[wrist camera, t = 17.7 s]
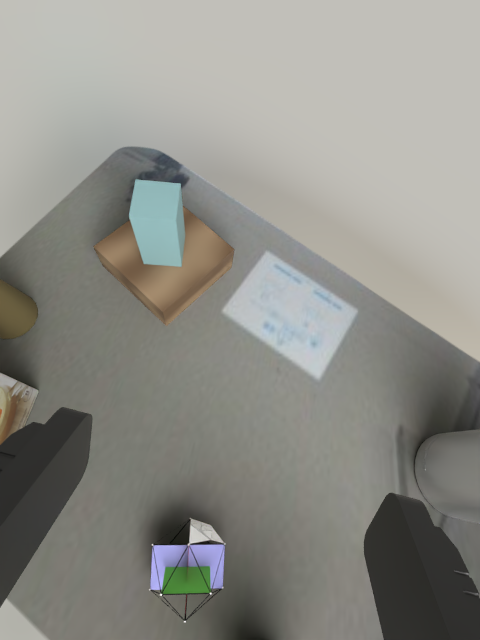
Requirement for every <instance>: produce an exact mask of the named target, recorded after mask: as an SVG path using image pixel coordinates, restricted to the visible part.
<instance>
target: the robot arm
mask: <svg viewBox="0 0 480 640" xmlns="http://www.w3.org/2000/svg"><path fill="white" fill-rule="evenodd" d="M91 429H92V415H91V414H88V413H84V412H80V411H76V410H72V409H68V408H64V407H62V408H60V409H59V410H58V411H57V412H56V413H55V414H54V415H53V416H52V417H51V418H50V419H49V420H48V421H47V422H46V424H45V425H44V424H40V423H36V422H33V423H31V424H29V425H27V426H25V427H23V428H21V429H19V430H18V431H16V432H14V433H12V434H11V435H10V436H9V437H8V438H7V439H6V440H5V441H4V442H3V443H2V444H1V445H0V607H1V605H2V604H3V602H4V601H5V599H6V598H7V596H8V594H9V593H10V591H11V590H12V588H13V587H14V585H15V583H16V582H17V580H18V579H19V577H20V575H21V574H22V572H23V571H24V569H25V568H26V566H27V564H28V563H29V561H30V560H31V558H32V557H33V555H34V553H35V552H36V550H37V549H38V547H39V545H40V544H41V542H42V541H43V539H44V538H45V536H46V534H47V533H48V531H49V530H50V528H51V526H52V525H53V523H54V522H55V520H56V519H57V517H58V515H59V514H60V512H61V511H62V509H63V507H64V506H65V504H66V503H67V501H68V500H69V498H70V496H71V495H72V493H73V492H74V490H75V489H76V487H77V485H78V484H79V482H80V480H81V478H82V476H83V474H84V472H85V469H86V466H87V463H88V459H89V450H90V440H91ZM415 475H416V479H417V483H418V486H419V488H420V490H421V492H422V494H423V495H424V497H425V498H426V500H427V501H428V502H429V503H430V504H431V505H432V506H433V507H434V508H435V509H436V510H438V511H439V512H441V513H442V514H444V515H446V516H449V517H451V518H455V519H460V520H464V521H468V522H473V523H477V524H480V429H477V430H468V431H458V432H449V433H439V434H436V435H433V436H431V437H429V438H428V439H426V440H425V441H424V442H423V443H422V444H421V446H420V448H419V450H418V451H417V455H416V458H415ZM364 555H365V560H366V564H367V569H368V573H369V577H370V582H371V586H372V590H373V594H374V599H375V603H376V607H377V612H378V616H379V620H380V625H381V629H382V633H383V637H384V640H480V598H479V593H478V590H477V588H476V586H475V584H474V582H473V580H472V578H469V572H468V570H467V568H466V566H465V564H464V561H463V559H462V557H461V555H460V553H459V551H458V549H457V548H456V547H455V546H454V544H453V543H452V542H451V541H450V539H449V538H448V537H447V535H446V534H445V533H444V532H443V530H442V529H441V528H440V527H436V526H434V524H433V522H432V520H431V518H430V515H429V513H428V511H427V509H426V507H425V505H424V504H423V502H422V501H420V500H417V499H413V498H410V497H406V496H402V495H398V494H394V493H389V494H388V495H387V496H386V497H385V499H384V501H383V502H382V504H381V506H380V508H379V509H378V511H377V513H376V515H375V516H374V518H373V520H372V522H371V524H370V525H369V527H368V529H367V531H366V534H365V539H364Z"/></svg>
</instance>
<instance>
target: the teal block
mask: <svg viewBox="0 0 480 640" xmlns="http://www.w3.org/2000/svg"><path fill="white" fill-rule="evenodd" d="M129 218H130V222H131V225H132V228H133V231H134V234H135V237H136V241H137V244H138V247H139V250H140V253H141V257H142V260H143V263H144V264H151V265H164V266H177V267H182V260H183V251H184V242H185V227H184V216H183V205H182V194H181V184H179V183H168V182H157V181H147V180H135V186H134V191H133V196H132V202H131V207H130V212H129Z"/></svg>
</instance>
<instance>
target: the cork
mask: <svg viewBox="0 0 480 640" xmlns="http://www.w3.org/2000/svg"><path fill="white" fill-rule="evenodd" d="M37 316H38V308H37V305H36V303H35V302H34V301H33V299H32V298H30V297H29V296H27V295H25V294H24V293H22V292H21V291H19V290H17V289H16V288H14V287H12V286H11V285H9V284H7V283H6V282H4V281H3V280H1V279H0V338H2V339H13V338H16V337H19V336H22V335H23V334H25V333H26V332H28V331H29V330H30V329H31V328H32V326H33V325H34V324H35V322H36V319H37Z"/></svg>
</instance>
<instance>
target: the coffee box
mask: <svg viewBox="0 0 480 640" xmlns="http://www.w3.org/2000/svg"><path fill="white" fill-rule="evenodd" d="M38 392H39V391H38V390H37V389H35V388H33V387H30V386H28V385H26V384H24V383H22V382H20V381H17V380H15V379H13V378H11V377H9V376H7V375H4V374H2V373H0V445H1V444H2V443H3V442H4V441H5V440H6V439H7V438H8V437H9V436H10V435H11V434H12V433H14V432H16V431H18V430H19V429H21V428H23V427H24V426H25V424H26V421H27V419H28V417H29V414H30V412H31V409H32V407H33V404H34V402H35V399H36V397H37V394H38Z"/></svg>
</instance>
